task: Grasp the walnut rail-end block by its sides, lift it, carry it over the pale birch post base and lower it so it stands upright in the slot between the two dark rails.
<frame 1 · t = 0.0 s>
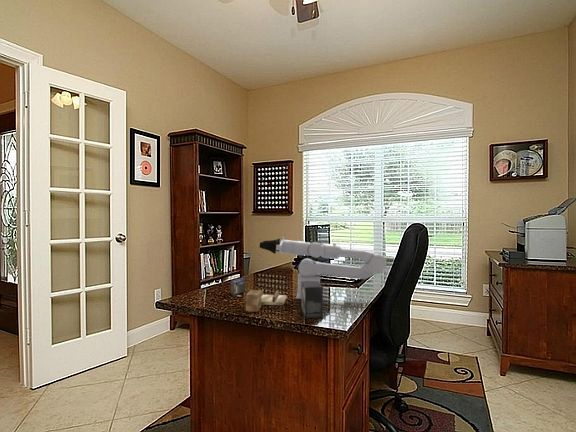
hand: (261, 244, 145), 22 cm above the table, tool horizontal, fingers open, 7 cm apart
post slot base: (267, 300, 137), on the table
small box: (311, 314, 119), on the table
rail end block: (253, 308, 125), on the table
mini dv tape: (238, 293, 150), on the table
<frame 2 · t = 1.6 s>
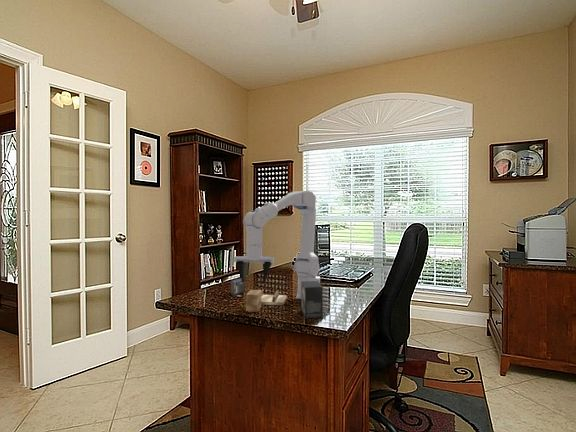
hand: (254, 282, 125), 9 cm above the table, tool pointing down, fingers open, 7 cm apart
nothing on the table moved.
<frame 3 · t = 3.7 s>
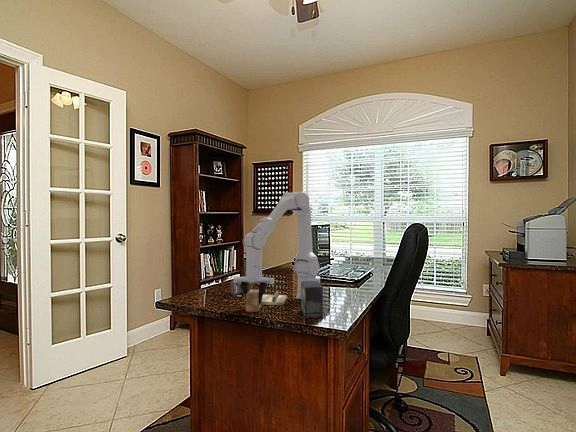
hand: (253, 303, 125), 2 cm above the table, tool pointing down, fingers closed on rail end block, 4 cm apart
rail end block: (253, 308, 125), on the table, touching gripper
everything else where it was.
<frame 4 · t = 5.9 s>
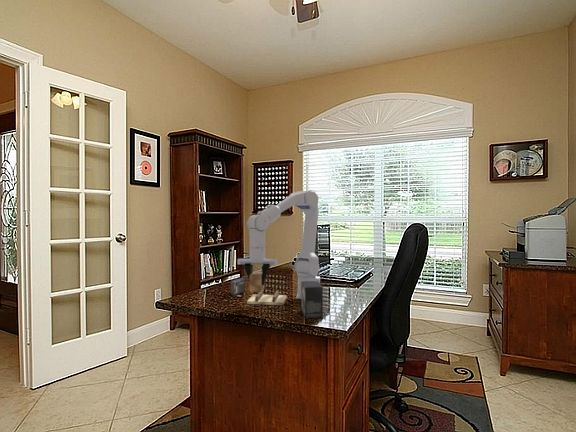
hand: (257, 284, 128), 8 cm above the table, tool pointing down, fingers closed on rail end block, 4 cm apart
rail end block: (257, 289, 128), point 6 cm above the table, touching gripper
everything else where it was.
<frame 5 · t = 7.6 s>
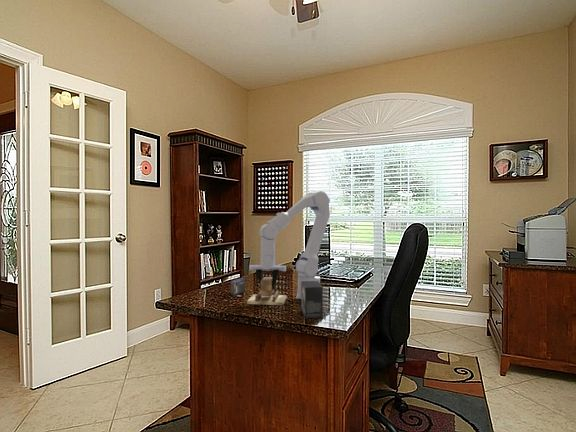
hand: (267, 288, 137), 5 cm above the table, tool pointing down, fingers closed on rail end block, 4 cm apart
rail end block: (267, 294, 137), point 3 cm above the table, touching gripper
everything else where it was.
when the fingers open (4 cm above the table, at t = 8.6 s): rail end block stays where it is, resting on post slot base.
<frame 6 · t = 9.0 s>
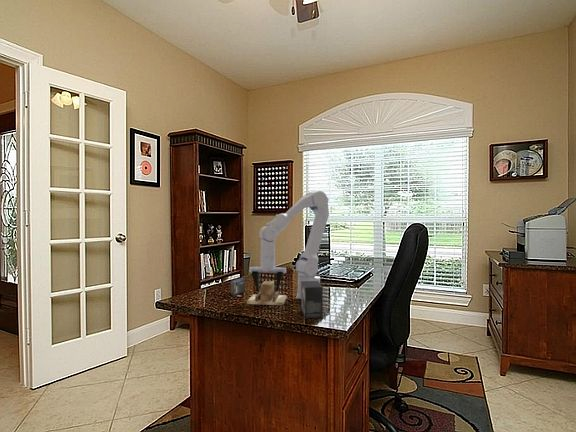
hand: (267, 290, 137), 4 cm above the table, tool pointing down, fingers open, 7 cm apart
rail end block: (267, 298, 137), point 1 cm above the table, touching post slot base
everything else where it was.
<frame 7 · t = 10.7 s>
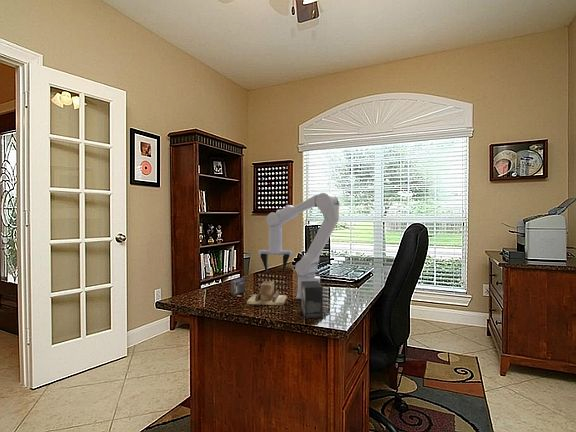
hand: (275, 271, 150), 9 cm above the table, tool pointing down, fingers open, 7 cm apart
nothing on the table moved.
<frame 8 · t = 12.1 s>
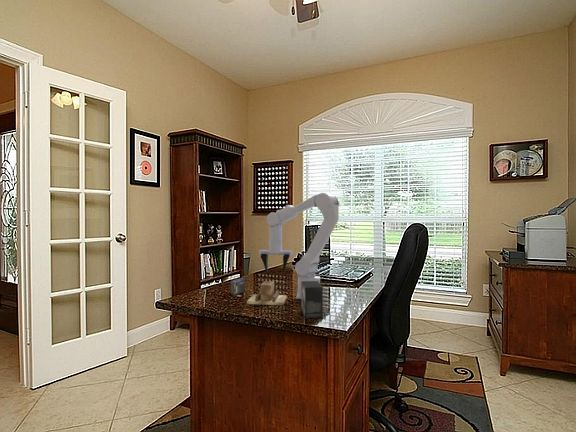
hand: (275, 271, 151), 9 cm above the table, tool pointing down, fingers open, 7 cm apart
nothing on the table moved.
at the end: rail end block 0.1 cm off-centre on the post slot base, point 1.0 cm above the post slot base's base; rail end block tilted 0°; the gripper is holding nothing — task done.
